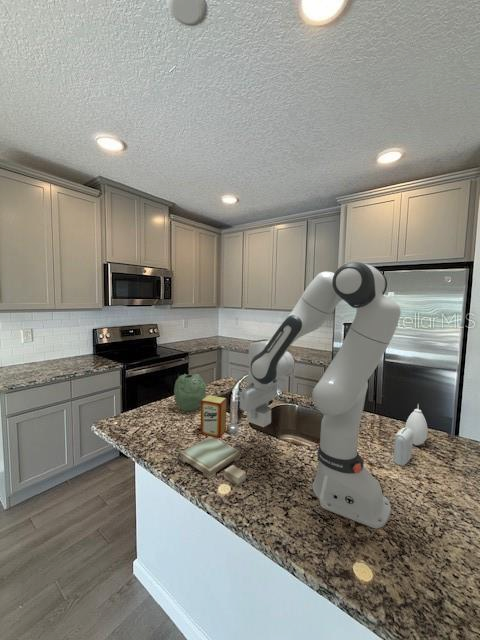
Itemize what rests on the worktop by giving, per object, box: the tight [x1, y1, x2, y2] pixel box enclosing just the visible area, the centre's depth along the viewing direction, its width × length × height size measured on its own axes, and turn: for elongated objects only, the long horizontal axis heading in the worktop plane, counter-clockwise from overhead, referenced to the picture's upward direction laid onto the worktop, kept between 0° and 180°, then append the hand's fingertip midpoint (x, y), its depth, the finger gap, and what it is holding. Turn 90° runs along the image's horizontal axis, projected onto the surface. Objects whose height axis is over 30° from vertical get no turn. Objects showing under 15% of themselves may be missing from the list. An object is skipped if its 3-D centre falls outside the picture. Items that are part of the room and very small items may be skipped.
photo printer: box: [392, 426, 413, 467], centre depth 104 cm, size 10×4×12 cm, turn 132°
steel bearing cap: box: [226, 422, 239, 436], centre depth 123 cm, size 5×5×3 cm
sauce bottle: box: [404, 403, 428, 446], centre depth 116 cm, size 8×8×18 cm
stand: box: [179, 436, 241, 480], centre depth 102 cm, size 16×16×3 cm
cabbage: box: [173, 373, 208, 412], centre depth 144 cm, size 16×19×20 cm
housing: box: [246, 405, 272, 428], centre depth 106 cm, size 8×5×6 cm, turn 50°
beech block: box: [223, 464, 247, 487], centre depth 91 cm, size 6×4×3 cm, turn 50°
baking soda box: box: [200, 394, 228, 439], centre depth 121 cm, size 10×6×16 cm
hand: (259, 415), depth 106 cm, fingers closed on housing, 5 cm apart
